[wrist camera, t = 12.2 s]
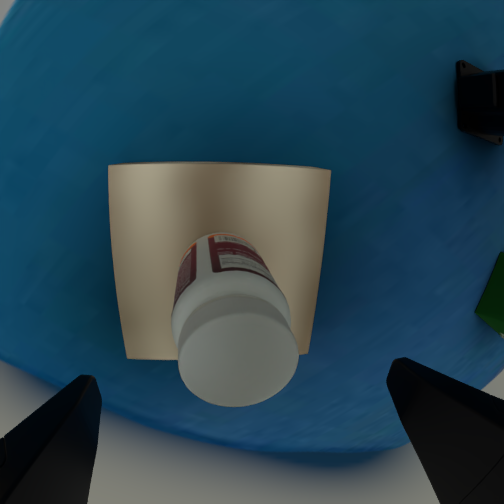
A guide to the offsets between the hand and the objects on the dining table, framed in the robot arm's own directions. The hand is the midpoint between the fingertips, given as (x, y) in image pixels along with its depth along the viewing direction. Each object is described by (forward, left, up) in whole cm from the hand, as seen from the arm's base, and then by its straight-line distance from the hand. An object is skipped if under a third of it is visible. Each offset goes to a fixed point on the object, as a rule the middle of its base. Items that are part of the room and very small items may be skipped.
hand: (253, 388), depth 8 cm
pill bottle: (0, 0, -10) cm, 10 cm away
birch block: (0, +1, -13) cm, 13 cm away
